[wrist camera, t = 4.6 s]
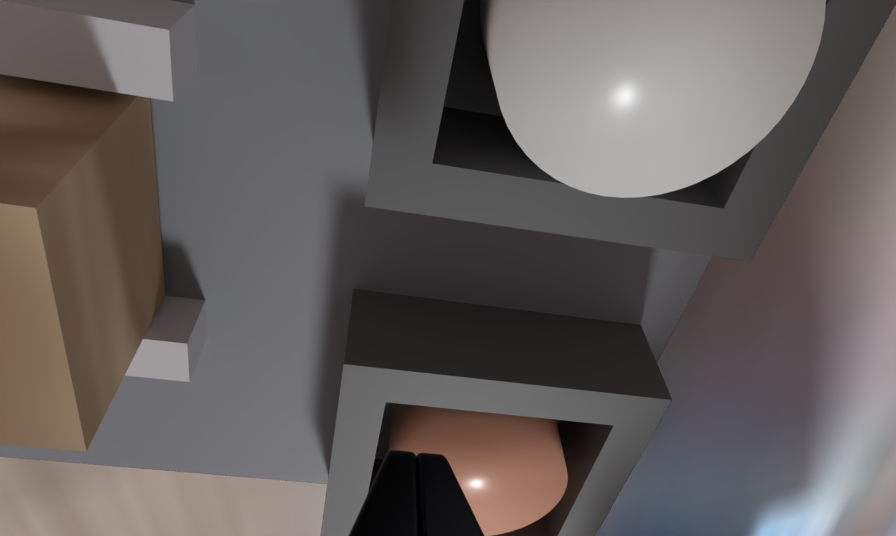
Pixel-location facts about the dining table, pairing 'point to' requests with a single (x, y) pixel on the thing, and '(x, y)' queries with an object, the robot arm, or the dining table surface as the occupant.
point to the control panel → (390, 240)
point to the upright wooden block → (72, 255)
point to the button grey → (646, 84)
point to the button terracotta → (490, 460)
